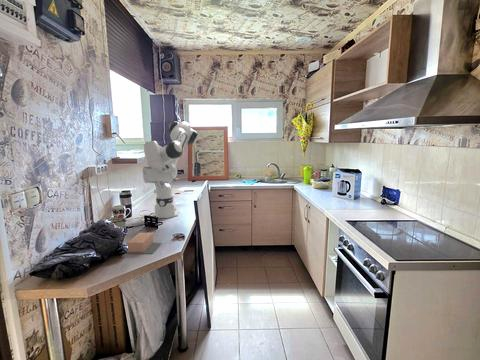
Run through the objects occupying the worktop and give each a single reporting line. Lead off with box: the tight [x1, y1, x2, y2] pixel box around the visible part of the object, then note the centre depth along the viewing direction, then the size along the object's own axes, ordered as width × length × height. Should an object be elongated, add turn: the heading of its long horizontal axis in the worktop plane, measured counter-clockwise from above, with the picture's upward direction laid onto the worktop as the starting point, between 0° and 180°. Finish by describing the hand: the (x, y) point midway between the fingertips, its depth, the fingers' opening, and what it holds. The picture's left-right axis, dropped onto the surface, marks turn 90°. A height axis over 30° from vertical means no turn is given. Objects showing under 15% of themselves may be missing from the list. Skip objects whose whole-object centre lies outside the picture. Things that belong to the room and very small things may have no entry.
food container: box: [107, 217, 127, 229], centre depth 153 cm, size 12×6×10 cm, turn 141°
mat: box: [124, 242, 163, 255], centre depth 136 cm, size 14×18×1 cm
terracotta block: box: [127, 232, 155, 252], centre depth 137 cm, size 5×8×14 cm
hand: (161, 190), depth 149 cm, fingers closed
